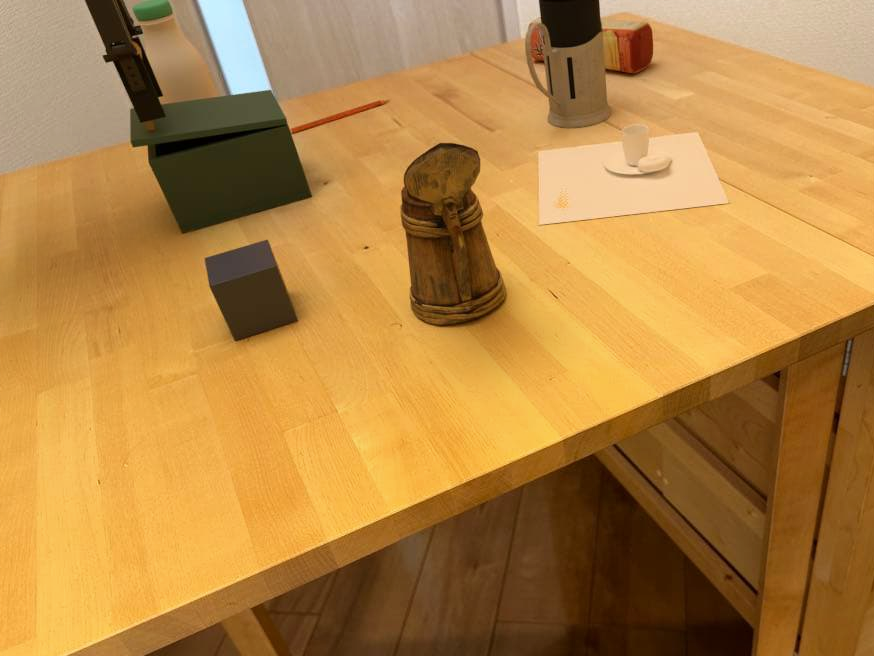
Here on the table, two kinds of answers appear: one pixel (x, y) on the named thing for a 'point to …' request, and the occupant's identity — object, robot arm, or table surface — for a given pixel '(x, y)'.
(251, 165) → the chest
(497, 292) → the wooden mug
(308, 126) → the pencil
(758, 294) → the table surface
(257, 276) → the block
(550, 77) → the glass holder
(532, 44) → the snack package
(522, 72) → the table surface
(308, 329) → the table surface
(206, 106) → the lid
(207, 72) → the milk bottle
